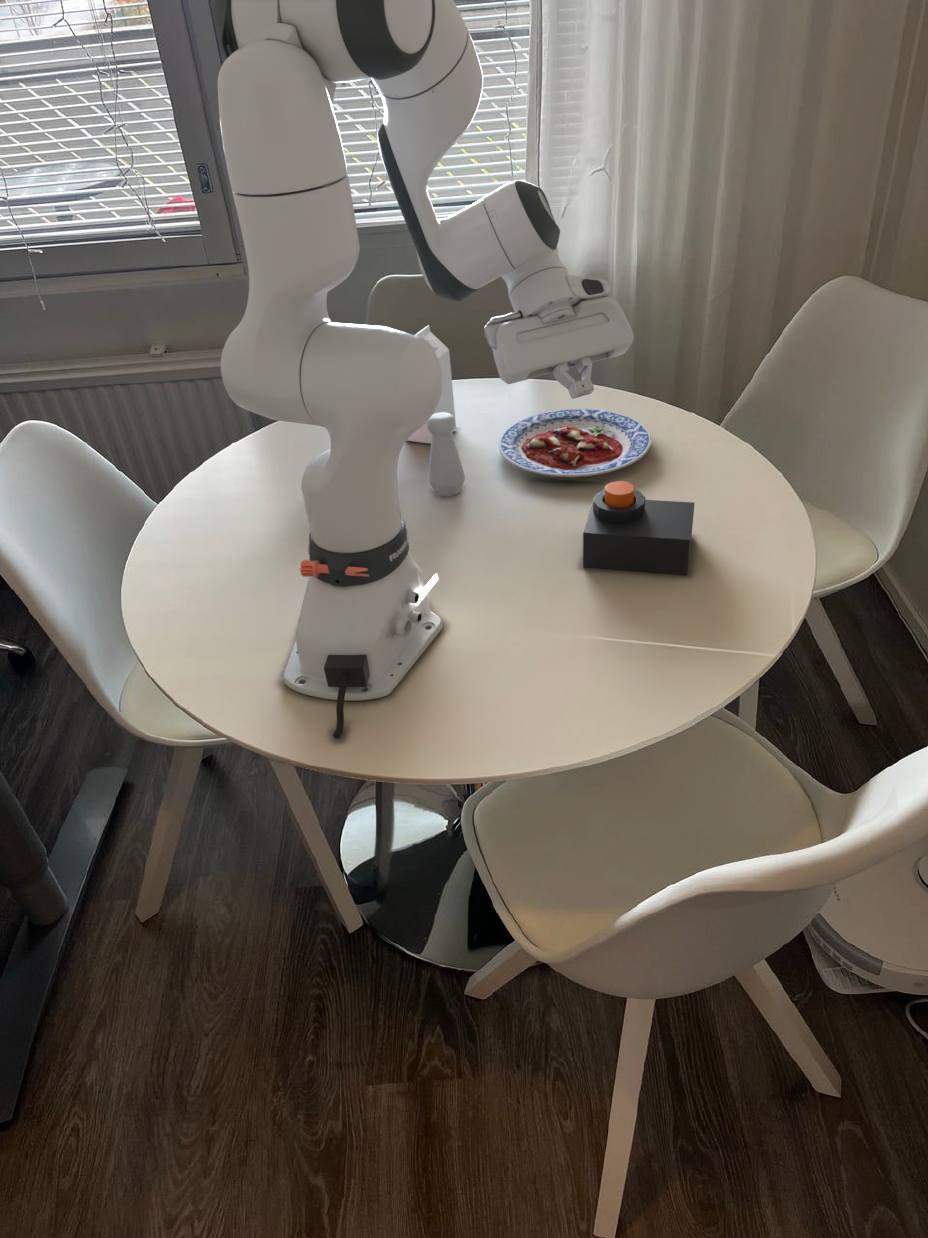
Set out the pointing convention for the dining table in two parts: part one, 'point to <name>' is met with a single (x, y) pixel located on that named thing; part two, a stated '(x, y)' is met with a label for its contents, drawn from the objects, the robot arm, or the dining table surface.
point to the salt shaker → (444, 456)
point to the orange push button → (619, 494)
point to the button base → (639, 536)
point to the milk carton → (447, 390)
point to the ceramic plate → (575, 442)
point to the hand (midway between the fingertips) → (583, 394)
